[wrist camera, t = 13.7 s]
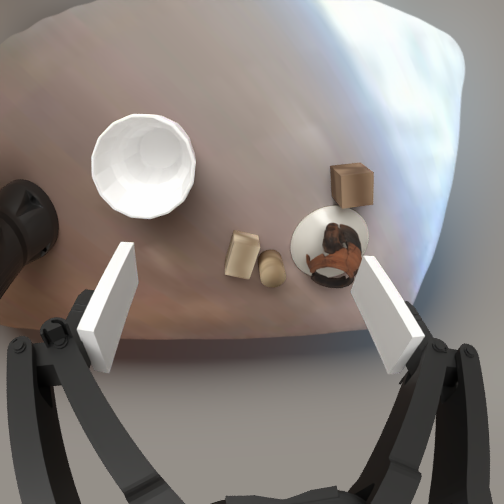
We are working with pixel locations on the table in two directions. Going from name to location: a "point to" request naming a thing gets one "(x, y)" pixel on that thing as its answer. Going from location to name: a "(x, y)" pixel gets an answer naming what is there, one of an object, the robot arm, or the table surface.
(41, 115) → the table surface
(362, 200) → the walnut block
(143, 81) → the table surface
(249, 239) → the maple block
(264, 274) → the oak dowel offcut
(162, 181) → the cup
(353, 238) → the pottery mug
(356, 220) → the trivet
